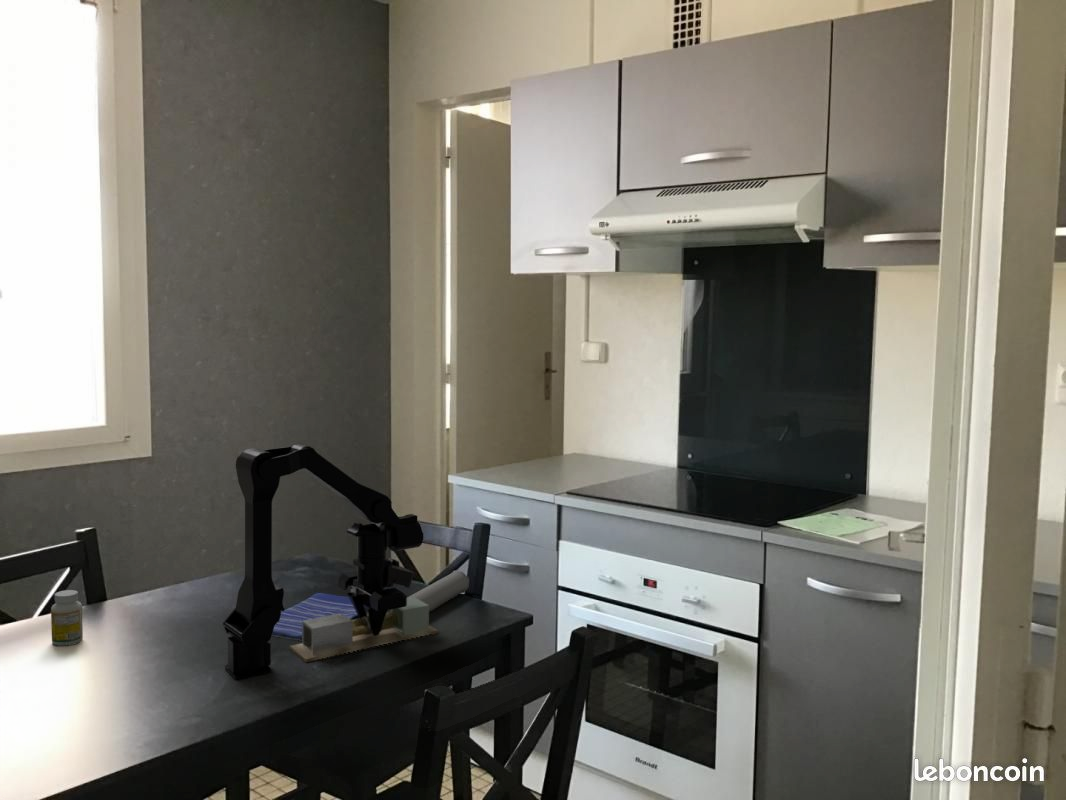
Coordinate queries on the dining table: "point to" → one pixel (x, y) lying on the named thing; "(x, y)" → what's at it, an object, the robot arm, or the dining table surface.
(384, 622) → the tube
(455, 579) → the tube
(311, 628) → the sleeve
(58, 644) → the supplement bottle
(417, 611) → the socket
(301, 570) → the dining table surface
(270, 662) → the robot arm
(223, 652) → the dining table surface
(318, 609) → the dish towel
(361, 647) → the mounting board
